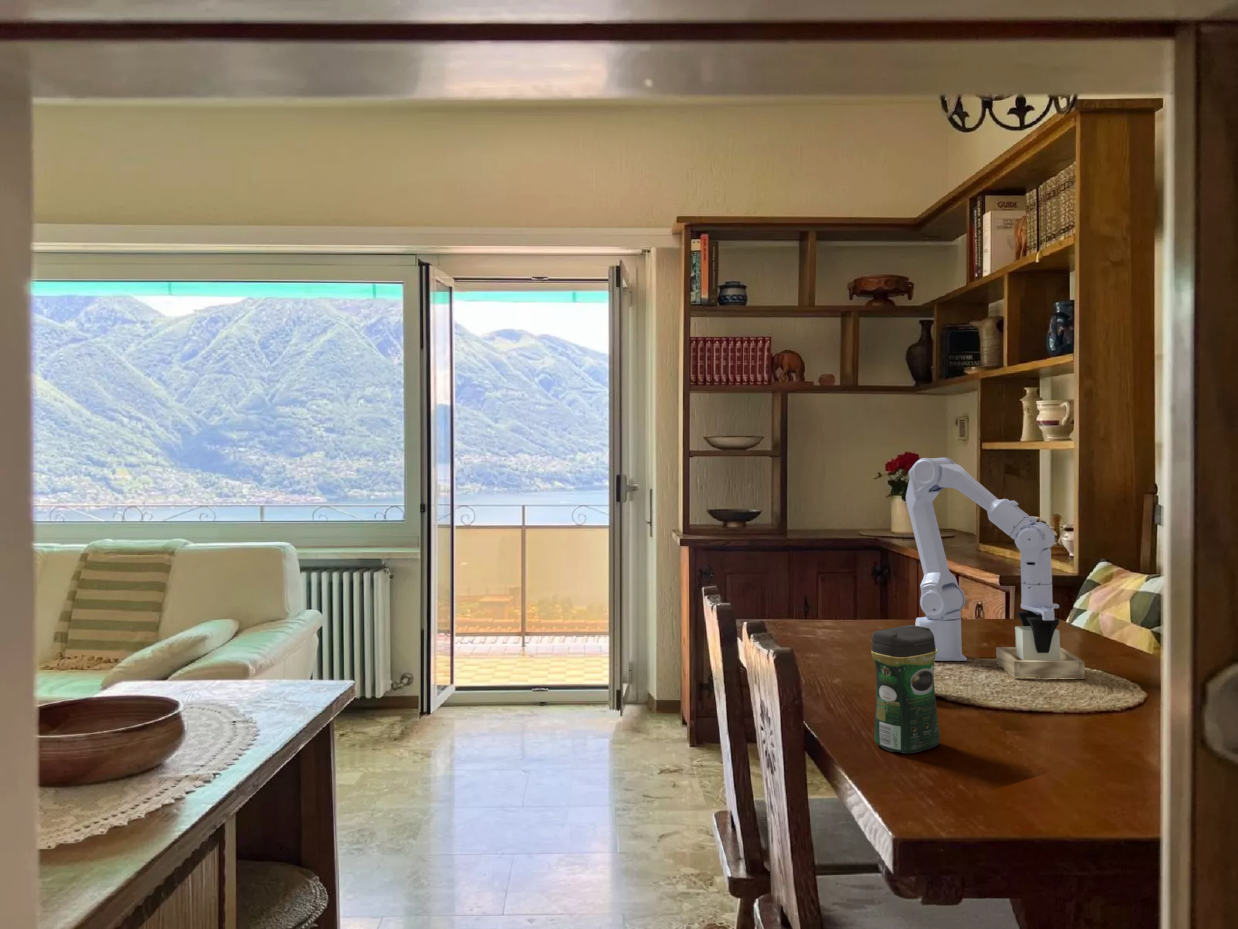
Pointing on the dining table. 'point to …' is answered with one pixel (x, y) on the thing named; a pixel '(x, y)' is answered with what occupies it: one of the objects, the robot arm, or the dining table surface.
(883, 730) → the coffee jar
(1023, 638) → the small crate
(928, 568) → the robot arm
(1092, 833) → the dining table surface
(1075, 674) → the wooden tray
